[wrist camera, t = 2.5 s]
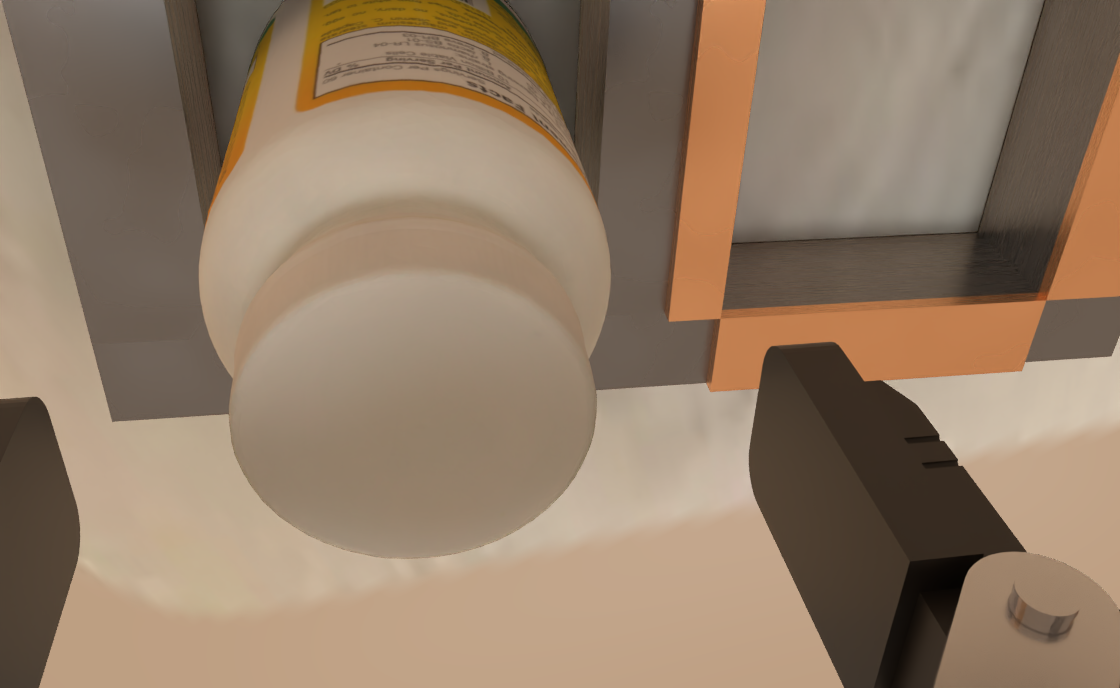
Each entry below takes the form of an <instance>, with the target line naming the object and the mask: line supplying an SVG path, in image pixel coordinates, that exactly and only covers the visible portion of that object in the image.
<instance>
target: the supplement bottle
mask: <svg viewBox="0 0 1120 688" xmlns="http://www.w3.org/2000/svg"><path fill="white" fill-rule="evenodd" d="M610 284H611V268H610V254H609V248H608V243H607V237H606V232H605V229H604V225H603V222H602V218H601V215H600V212H599V210H598V207H597V204H596V202H595V199H594V196H593V194H592V191H591V188H590V186H589V183H588V180H587V178H586V175H585V172H584V169H583V167H582V165H581V162H580V159H579V157H578V154H577V151H576V149H575V146H574V144H573V141H572V138H571V135H570V133H569V131H568V129H567V127H566V124H565V122H564V119H563V116H562V113H561V111H560V108H559V105H558V102H557V100H556V97H555V95H554V92H553V89H552V86H551V83H550V81H549V78H548V75H547V71H546V68H545V66H544V63H543V61H542V58H541V56H540V54H539V52H538V50H537V47H536V45H535V43H534V41H533V39H532V37H531V35H530V34H529V32H528V30H527V29H526V27H525V25H524V24H523V23H522V21H521V20H520V18H519V17H518V15H517V14H516V13H515V12H514V11H513V10H512V8H511V7H510V6H509V5H508V4H507V3H506V2H505V1H504V0H285V1H284V2H283V3H282V5H281V6H280V7H279V9H278V10H277V11H276V12H275V14H274V15H273V16H272V18H271V19H270V21H269V23H268V24H267V26H266V28H265V30H264V31H263V33H262V35H261V37H260V39H259V42H258V44H257V47H256V50H255V52H254V56H253V58H252V61H251V64H250V67H249V71H248V76H247V79H246V82H245V86H244V89H243V93H242V97H241V101H240V105H239V109H238V112H237V116H236V120H235V124H234V127H233V131H232V134H231V138H230V142H229V145H228V148H227V151H226V155H225V159H224V162H223V166H222V169H221V172H220V175H219V179H218V182H217V186H216V189H215V193H214V196H213V199H212V203H211V205H210V208H209V210H208V216H207V219H206V223H205V229H204V234H203V239H202V245H201V251H200V260H199V291H200V300H201V305H202V310H203V316H204V320H205V323H206V326H207V330H208V333H209V336H210V338H211V341H212V343H213V345H214V348H215V350H216V352H217V354H218V356H219V358H220V360H221V361H222V363H223V365H224V366H225V368H226V370H227V371H228V373H229V374H230V375H231V377H232V378H233V381H232V387H231V394H230V402H229V423H230V432H231V441H232V446H233V450H234V453H235V456H236V458H237V461H238V463H239V465H240V467H241V469H242V472H243V473H244V475H245V476H246V478H247V480H248V481H249V483H250V485H251V486H252V488H253V489H254V490H255V492H256V493H257V494H258V495H259V497H260V498H261V499H262V501H263V502H264V503H265V504H266V505H267V506H269V507H270V508H271V509H272V510H273V511H274V512H275V513H276V514H277V515H278V516H279V517H281V518H282V519H284V520H285V521H287V522H288V523H290V524H291V525H293V526H294V527H296V528H297V529H299V530H301V531H302V532H304V533H305V534H307V535H309V536H311V537H313V538H316V539H318V540H320V541H322V542H324V543H327V544H330V545H333V546H336V547H338V548H341V549H344V550H348V551H351V552H356V553H361V554H366V555H370V556H374V557H381V558H399V559H413V558H430V557H438V556H445V555H451V554H457V553H460V552H464V551H467V550H471V549H474V548H478V547H481V546H484V545H486V544H489V543H492V542H494V541H497V540H499V539H501V538H503V537H505V536H507V535H509V534H511V533H513V532H515V531H516V530H518V529H520V528H521V527H523V526H525V525H526V524H528V523H529V522H531V521H532V520H534V519H535V518H536V517H537V516H539V515H540V514H541V513H543V512H544V511H545V510H546V509H547V508H548V507H550V506H551V505H552V504H553V503H554V502H555V501H556V500H557V499H558V498H559V497H560V496H561V495H562V494H563V492H564V491H565V490H566V489H567V487H568V486H569V485H570V483H571V482H572V480H573V479H574V478H575V476H576V474H577V472H578V471H579V469H580V467H581V465H582V463H583V461H584V459H585V456H586V454H587V452H588V450H589V447H590V444H591V441H592V438H593V434H594V428H595V420H596V407H597V394H596V389H595V384H594V379H593V375H592V370H591V366H590V362H589V358H590V356H591V354H592V352H593V350H594V347H595V345H596V342H597V340H598V337H599V335H600V332H601V329H602V326H603V323H604V320H605V316H606V312H607V307H608V301H609V294H610Z"/></svg>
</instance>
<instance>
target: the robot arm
mask: <svg viewBox="0 0 1120 688" xmlns="http://www.w3.org/2000/svg"><path fill="white" fill-rule="evenodd" d="M749 471H750V479H751V484H752V489H753V493H754V496H755V499H756V501H757V504H758V506H759V508H760V510H761V512H762V514H763V516H764V518H765V521H766V523H767V525H768V527H769V529H770V531H771V533H772V535H773V538H774V540H775V542H776V544H777V546H778V548H779V550H780V552H781V554H782V557H783V558H784V561H785V563H786V565H787V567H788V569H789V571H790V573H791V576H792V578H793V580H794V582H795V584H796V586H797V588H798V591H799V592H800V595H801V597H802V599H803V601H804V603H805V605H806V608H807V610H808V612H809V614H810V616H811V618H812V620H813V622H814V624H815V627H816V629H817V631H818V633H819V635H820V637H821V639H822V641H823V644H824V646H825V648H826V650H827V652H828V654H829V656H830V658H831V660H832V663H833V665H834V667H835V669H836V671H837V673H838V675H839V677H840V680H841V682H842V684H843V686H844V688H1120V610H1119V609H1118V607H1117V605H1116V604H1115V603H1114V601H1113V600H1112V598H1111V597H1110V596H1109V595H1108V594H1107V593H1106V591H1104V589H1102V587H1101V586H1099V585H1098V584H1097V583H1096V582H1094V581H1093V580H1092V579H1091V578H1089V577H1088V576H1087V575H1085V574H1083V573H1082V572H1080V571H1079V570H1077V569H1075V568H1073V567H1071V566H1069V565H1067V564H1065V563H1063V562H1060V561H1058V560H1055V559H1052V558H1049V557H1046V556H1042V555H1038V554H1032V553H1027V552H1026V550H1025V549H1024V548H1023V546H1022V545H1021V544H1020V542H1019V541H1018V540H1017V538H1016V537H1015V536H1014V535H1013V533H1012V532H1011V530H1010V529H1009V528H1008V526H1007V525H1006V523H1005V522H1004V521H1003V519H1002V518H1001V517H1000V516H999V514H998V513H997V511H996V510H995V509H994V507H993V506H992V505H991V503H990V502H989V501H988V499H987V498H986V497H985V495H984V494H983V493H982V492H981V490H980V489H979V487H978V486H977V485H976V483H975V482H974V481H973V479H972V478H971V477H970V475H969V474H968V473H967V471H966V470H965V469H964V467H963V466H958V459H957V458H956V456H955V455H954V454H953V452H952V451H951V450H950V448H949V447H948V446H947V444H946V443H945V442H944V441H940V439H939V434H938V432H937V431H936V430H935V428H934V427H933V426H932V424H931V423H930V422H929V420H928V419H927V418H926V416H925V415H924V414H923V412H922V411H921V410H920V408H919V407H918V406H917V405H916V404H915V403H913V402H912V401H911V400H909V399H908V398H906V397H905V396H903V395H902V394H900V393H899V392H897V391H896V390H895V389H893V388H892V387H890V386H889V385H887V384H886V383H884V382H883V381H881V380H876V381H864V380H863V379H862V377H861V376H860V374H859V373H858V372H857V370H856V369H855V367H854V366H853V364H852V363H851V361H850V360H849V359H848V357H847V356H846V354H845V353H844V351H843V350H842V349H841V347H840V346H839V345H838V344H836V343H835V342H820V343H806V344H792V345H778V346H771V347H770V348H769V349H768V350H767V352H766V354H765V357H764V360H763V365H762V372H761V378H760V384H759V391H758V397H757V404H756V410H755V416H754V423H753V429H752V435H751V442H750V449H749ZM79 547H80V523H79V515H78V509H77V505H76V501H75V498H74V495H73V491H72V488H71V485H70V482H69V478H68V475H67V472H66V468H65V465H64V462H63V459H62V455H61V452H60V449H59V446H58V442H57V439H56V436H55V432H54V429H53V426H52V423H51V419H50V416H49V413H48V410H47V408H46V406H45V404H44V403H43V401H42V400H41V399H40V398H38V397H25V398H11V399H0V688H39V685H40V682H41V678H42V675H43V672H44V669H45V666H46V662H47V659H48V656H49V653H50V649H51V646H52V643H53V640H54V636H55V633H56V630H57V626H58V623H59V620H60V617H61V614H62V610H63V607H64V604H65V601H66V597H67V594H68V591H69V587H70V584H71V581H72V578H73V575H74V571H75V568H76V564H77V561H78V555H79Z"/></svg>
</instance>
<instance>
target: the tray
mask: <svg viewBox="0 0 1120 688" xmlns="http://www.w3.org/2000/svg"><path fill="white" fill-rule="evenodd" d="M2 3H3V7H4V11H5V15H6V18H7V22H8V26H9V30H10V34H11V37H12V41H13V45H14V49H15V53H16V57H17V60H18V64H19V68H20V72H21V76H22V79H23V83H24V87H25V91H26V95H27V98H28V102H29V106H30V110H31V114H32V117H33V121H34V125H35V129H36V133H37V136H38V140H39V144H40V148H41V152H42V155H43V159H44V163H45V167H46V171H47V175H48V178H49V182H50V186H51V190H52V194H53V197H54V201H55V205H56V209H57V213H58V216H59V220H60V224H61V228H62V232H63V235H64V239H65V243H66V247H67V251H68V254H69V258H70V262H71V266H72V270H73V273H74V277H75V281H76V285H77V289H78V293H79V296H80V300H81V304H82V308H83V312H84V315H85V319H86V323H87V327H88V331H89V334H90V338H91V342H92V346H93V350H94V353H95V357H96V361H97V365H98V369H99V372H100V376H101V380H102V384H103V388H104V391H105V395H106V399H107V403H108V407H109V411H110V414H111V418H112V422H114V421H129V420H144V419H160V418H175V417H190V416H205V415H221V414H229V402H230V394H231V387H232V381H233V378H232V377H231V375H230V374H229V373H228V371H227V370H226V368H225V366H224V365H223V363H222V361H221V360H220V358H219V356H218V354H217V352H216V350H215V348H214V345H213V343H212V341H211V338H210V336H209V333H208V330H207V326H206V323H205V320H204V316H203V310H202V305H201V300H200V291H199V260H200V251H201V245H202V239H203V234H204V229H205V223H206V219H207V216H208V210H209V208H210V205H211V203H212V199H213V196H214V193H215V189H216V186H217V182H218V179H219V175H220V172H221V169H222V167H221V161H220V155H219V148H218V142H217V136H216V130H215V124H214V117H213V111H212V105H211V99H210V92H209V86H208V80H207V74H206V67H205V61H204V55H203V49H202V42H201V36H200V30H199V24H198V18H197V11H196V5H195V0H2ZM765 4H766V0H581V10H580V33H579V55H578V78H577V100H576V123H575V145H574V146H575V149H576V151H577V154H578V157H579V159H580V162H581V165H582V167H583V169H584V172H585V175H586V178H587V180H588V183H589V186H590V188H591V191H592V194H593V196H594V199H595V202H596V204H597V207H598V210H599V212H600V215H601V218H602V222H603V225H604V229H605V232H606V237H607V243H608V248H609V254H610V268H611V284H610V294H609V301H608V307H607V312H606V316H605V320H604V323H603V326H602V329H601V332H600V335H599V337H598V340H597V342H596V345H595V347H594V350H593V352H592V354H591V356H590V358H589V362H590V366H591V370H592V375H593V379H594V384H595V389H596V390H603V389H619V388H634V387H649V386H665V385H680V384H695V383H706V384H707V386H708V388H709V390H710V392H715V391H730V390H745V389H759V384H760V378H761V372H762V365H763V360H764V357H765V354H766V352H767V350H768V349H769V348H770V347H771V346H778V345H792V344H806V343H820V342H835V343H836V344H838V345H839V346H840V347H841V349H842V350H843V351H844V353H845V354H846V356H847V357H848V359H849V360H850V361H851V363H852V364H853V366H854V367H855V369H856V370H857V372H858V373H859V374H860V376H861V377H862V379H863V380H864V381H876V380H895V379H910V378H925V377H940V376H955V375H970V374H985V373H1000V372H1015V371H1022V369H1023V366H1024V364H1025V362H1032V361H1047V360H1062V359H1078V358H1093V357H1108V356H1112V353H1113V351H1114V348H1115V346H1116V343H1117V341H1118V338H1119V336H1120V0H1046V1H1045V4H1044V8H1043V11H1042V15H1041V18H1040V21H1039V25H1038V28H1037V32H1036V35H1035V39H1034V42H1033V45H1032V49H1031V52H1030V56H1029V59H1028V63H1027V66H1026V70H1025V73H1024V76H1023V80H1022V83H1021V87H1020V90H1019V94H1018V97H1017V100H1016V104H1015V107H1014V111H1013V114H1012V118H1011V121H1010V125H1009V128H1008V131H1007V135H1006V138H1005V142H1004V145H1003V149H1002V152H1001V155H1000V159H999V162H998V166H997V169H996V173H995V176H994V180H993V183H992V186H991V190H990V193H989V197H988V200H987V204H986V207H985V210H984V214H983V217H982V221H981V224H980V228H979V231H978V233H963V234H941V235H919V236H897V237H875V238H854V239H832V240H810V241H788V242H766V243H744V244H731V243H732V236H733V229H734V222H735V215H736V208H737V201H738V194H739V187H740V180H741V173H742V166H743V159H744V152H745V145H746V138H747V131H748V124H749V117H750V110H751V103H752V96H753V89H754V82H755V75H756V68H757V61H758V54H759V46H760V39H761V32H762V25H763V18H764V11H765Z"/></svg>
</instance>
